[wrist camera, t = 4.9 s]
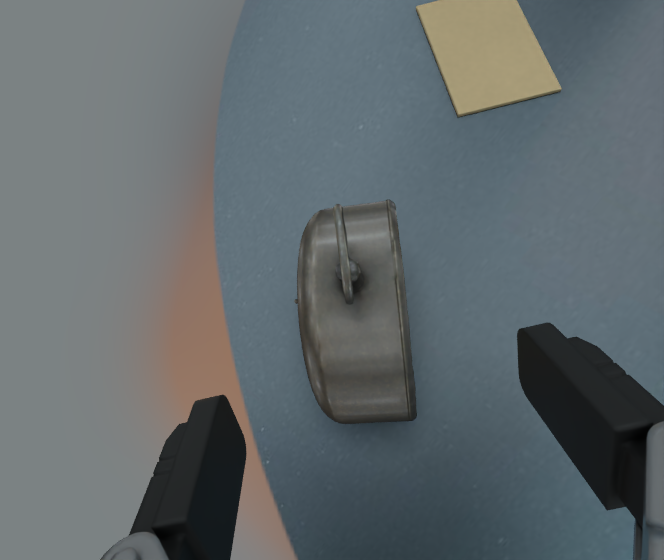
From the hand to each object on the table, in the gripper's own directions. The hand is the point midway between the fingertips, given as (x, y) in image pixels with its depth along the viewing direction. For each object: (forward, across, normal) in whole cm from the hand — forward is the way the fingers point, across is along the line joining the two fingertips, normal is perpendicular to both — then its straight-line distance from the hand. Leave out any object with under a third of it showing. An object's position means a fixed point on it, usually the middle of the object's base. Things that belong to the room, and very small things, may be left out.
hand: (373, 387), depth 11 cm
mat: (+29, -15, -7) cm, 34 cm away
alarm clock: (+14, 0, +8) cm, 16 cm away
